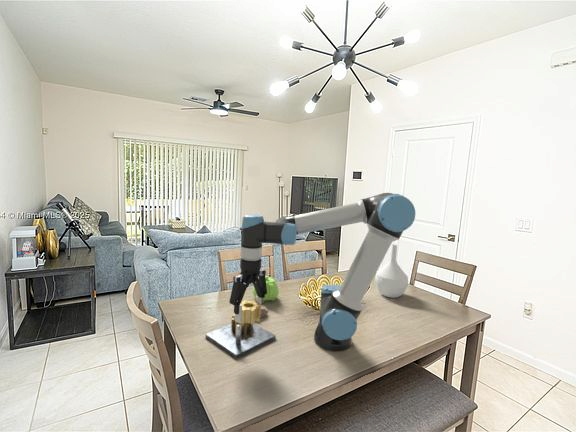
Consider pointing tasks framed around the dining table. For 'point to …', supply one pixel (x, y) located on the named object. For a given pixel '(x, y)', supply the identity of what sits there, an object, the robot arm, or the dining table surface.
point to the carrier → (240, 338)
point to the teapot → (269, 289)
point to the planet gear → (250, 311)
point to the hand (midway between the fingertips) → (248, 317)
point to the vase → (391, 278)
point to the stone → (263, 311)
